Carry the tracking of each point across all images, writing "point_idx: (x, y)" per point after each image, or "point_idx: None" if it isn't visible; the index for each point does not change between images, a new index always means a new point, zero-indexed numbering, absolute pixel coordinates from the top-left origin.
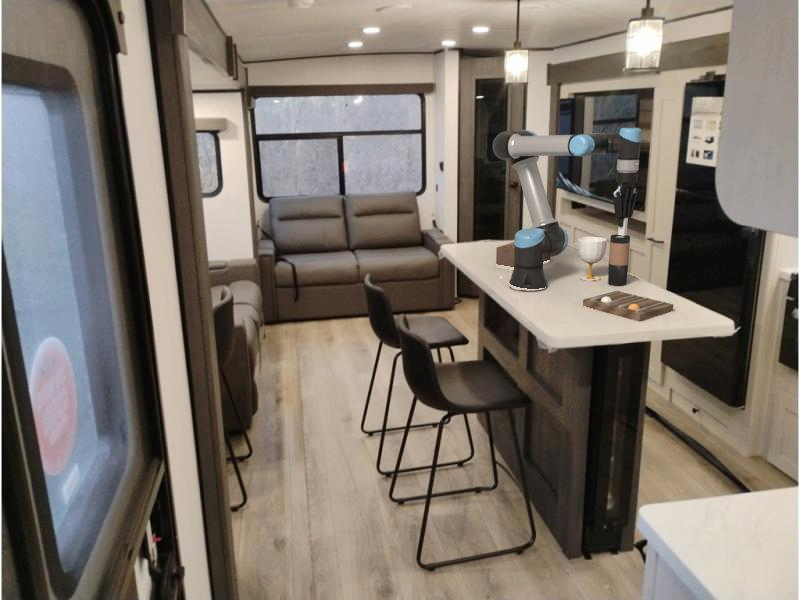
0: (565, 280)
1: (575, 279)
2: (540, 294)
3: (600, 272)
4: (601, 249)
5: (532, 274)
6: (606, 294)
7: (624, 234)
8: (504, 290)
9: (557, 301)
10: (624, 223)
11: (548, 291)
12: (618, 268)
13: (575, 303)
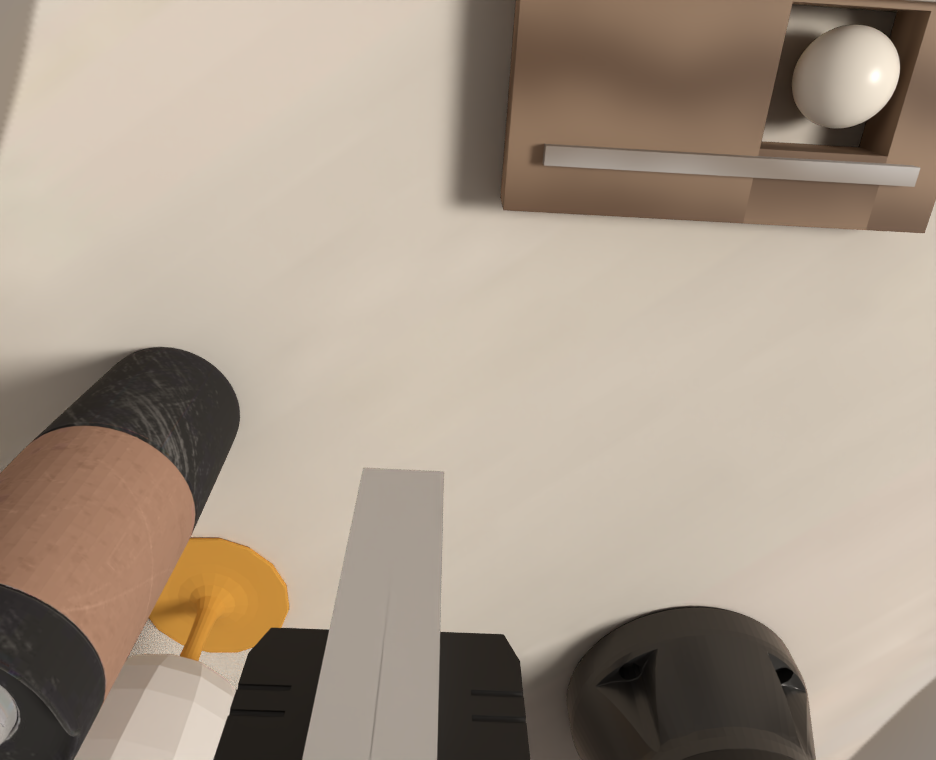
0: None
1: None
2: (782, 564)
3: None
4: (125, 724)
5: (785, 725)
6: (717, 170)
7: (427, 485)
8: (826, 720)
9: (875, 407)
10: (439, 677)
11: (686, 574)
12: (178, 444)
13: (853, 299)
